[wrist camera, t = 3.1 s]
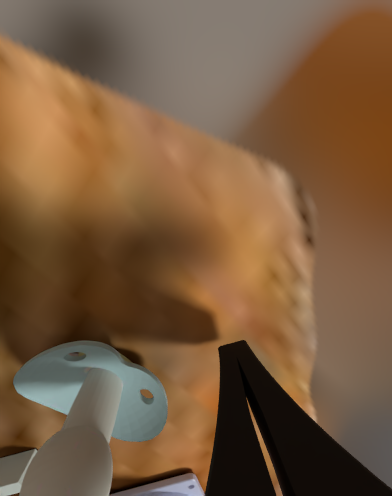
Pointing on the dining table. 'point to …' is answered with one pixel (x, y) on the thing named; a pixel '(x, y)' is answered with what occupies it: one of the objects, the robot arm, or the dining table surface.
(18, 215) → the dining table surface
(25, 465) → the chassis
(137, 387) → the pacifier
